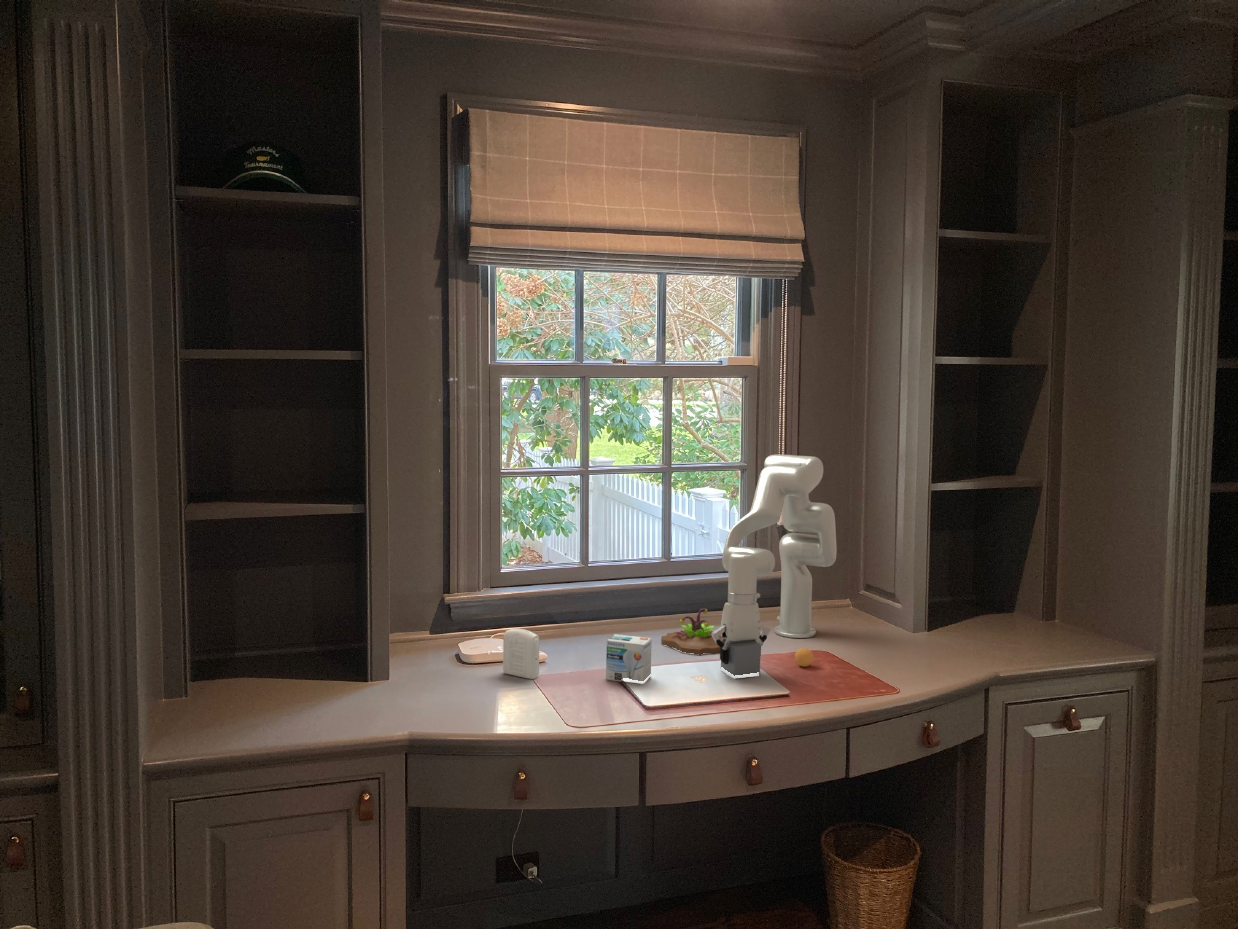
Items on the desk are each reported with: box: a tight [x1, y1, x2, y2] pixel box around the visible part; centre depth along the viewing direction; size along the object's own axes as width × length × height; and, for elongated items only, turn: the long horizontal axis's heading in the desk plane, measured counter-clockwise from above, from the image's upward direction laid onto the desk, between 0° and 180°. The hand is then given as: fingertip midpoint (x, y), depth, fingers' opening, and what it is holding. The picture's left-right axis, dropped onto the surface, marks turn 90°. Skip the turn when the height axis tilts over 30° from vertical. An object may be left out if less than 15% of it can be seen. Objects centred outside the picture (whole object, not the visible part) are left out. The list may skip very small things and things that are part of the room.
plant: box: [660, 607, 722, 656], centre depth 273 cm, size 20×20×11 cm
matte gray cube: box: [720, 639, 762, 676], centre depth 246 cm, size 8×8×9 cm
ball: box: [794, 647, 814, 668], centre depth 254 cm, size 5×5×5 cm
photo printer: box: [502, 628, 540, 680], centre depth 243 cm, size 10×4×12 cm, turn 60°
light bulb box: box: [605, 633, 653, 683], centre depth 241 cm, size 11×7×11 cm, turn 70°
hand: (740, 661), depth 246 cm, fingers open, 9 cm apart
